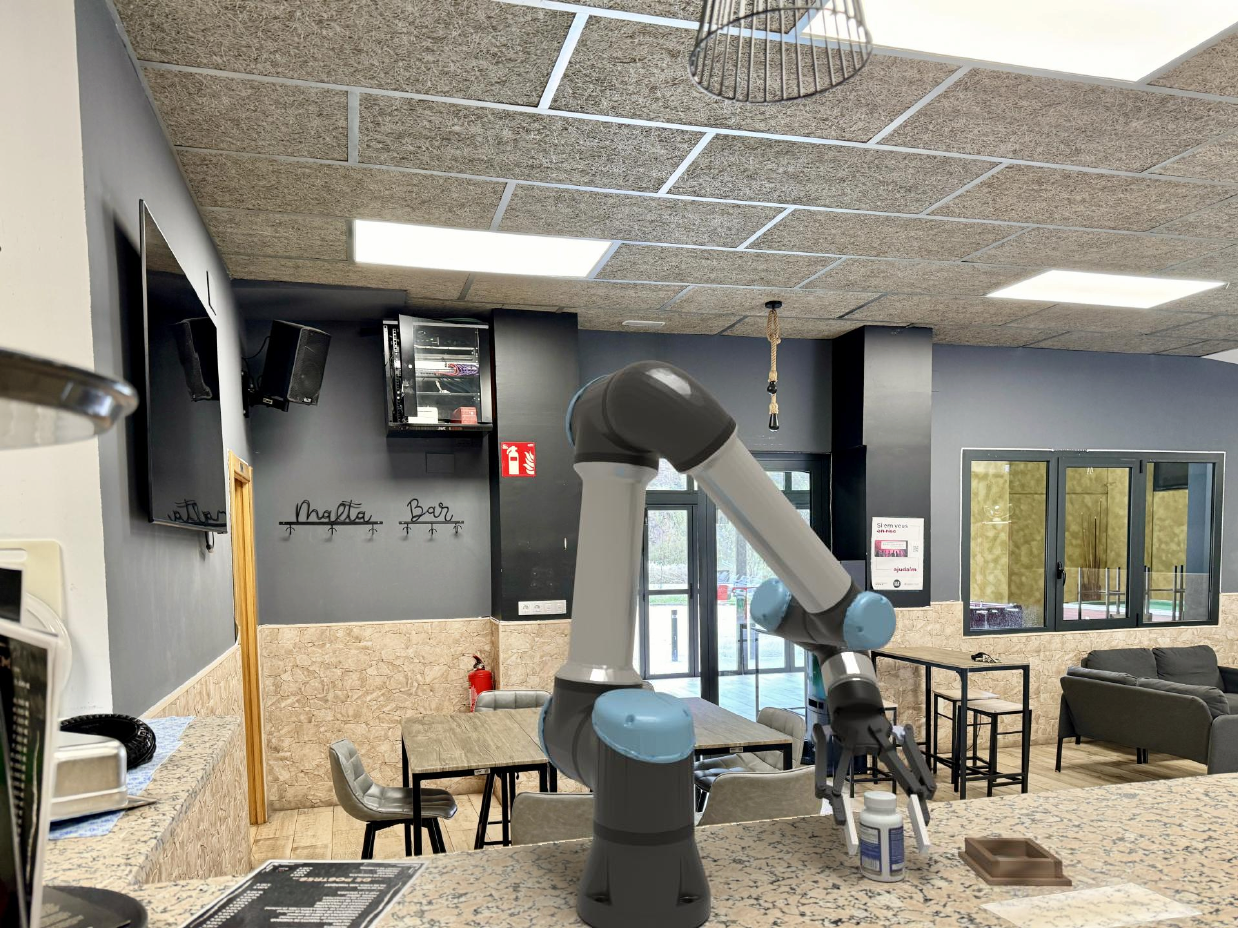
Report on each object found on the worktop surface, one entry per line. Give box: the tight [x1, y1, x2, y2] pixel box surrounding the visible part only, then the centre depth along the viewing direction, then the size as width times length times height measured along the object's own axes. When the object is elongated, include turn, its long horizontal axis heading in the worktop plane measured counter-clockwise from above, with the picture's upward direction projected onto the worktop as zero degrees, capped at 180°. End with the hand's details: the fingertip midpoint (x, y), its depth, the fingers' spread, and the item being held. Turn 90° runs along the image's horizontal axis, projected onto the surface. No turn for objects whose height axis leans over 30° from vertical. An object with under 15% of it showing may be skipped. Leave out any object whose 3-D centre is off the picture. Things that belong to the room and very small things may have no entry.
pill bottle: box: [858, 790, 906, 883], centre depth 107 cm, size 5×5×10 cm
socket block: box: [957, 836, 1073, 887], centre depth 108 cm, size 10×10×3 cm
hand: (889, 849), depth 104 cm, fingers open, 8 cm apart
